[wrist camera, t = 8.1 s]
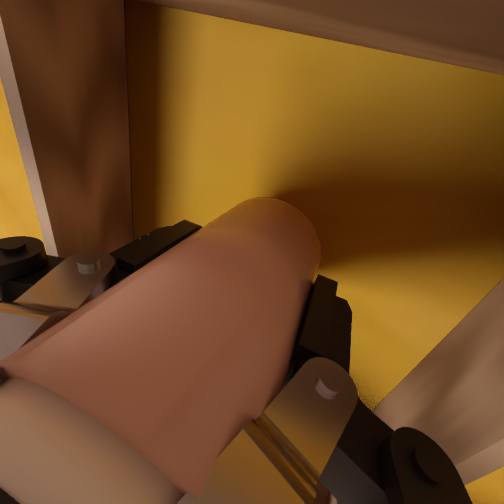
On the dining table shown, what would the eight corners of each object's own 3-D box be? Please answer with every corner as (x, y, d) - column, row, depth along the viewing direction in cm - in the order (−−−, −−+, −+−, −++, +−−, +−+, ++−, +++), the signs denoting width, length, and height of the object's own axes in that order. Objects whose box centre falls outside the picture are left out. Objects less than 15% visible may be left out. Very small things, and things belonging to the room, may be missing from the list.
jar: (228, 181, 11) (-157, 352, 3) (339, 220, 10) (240, 675, 2) (213, 270, 14) (-8, 490, 5) (299, 308, 12) (186, 650, 4)
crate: (107, -31, 11) (-55, -130, 6) (745, 81, 6) (1471, 3, 2) (130, 342, 24) (83, 388, 20) (339, 459, 20) (333, 548, 16)
